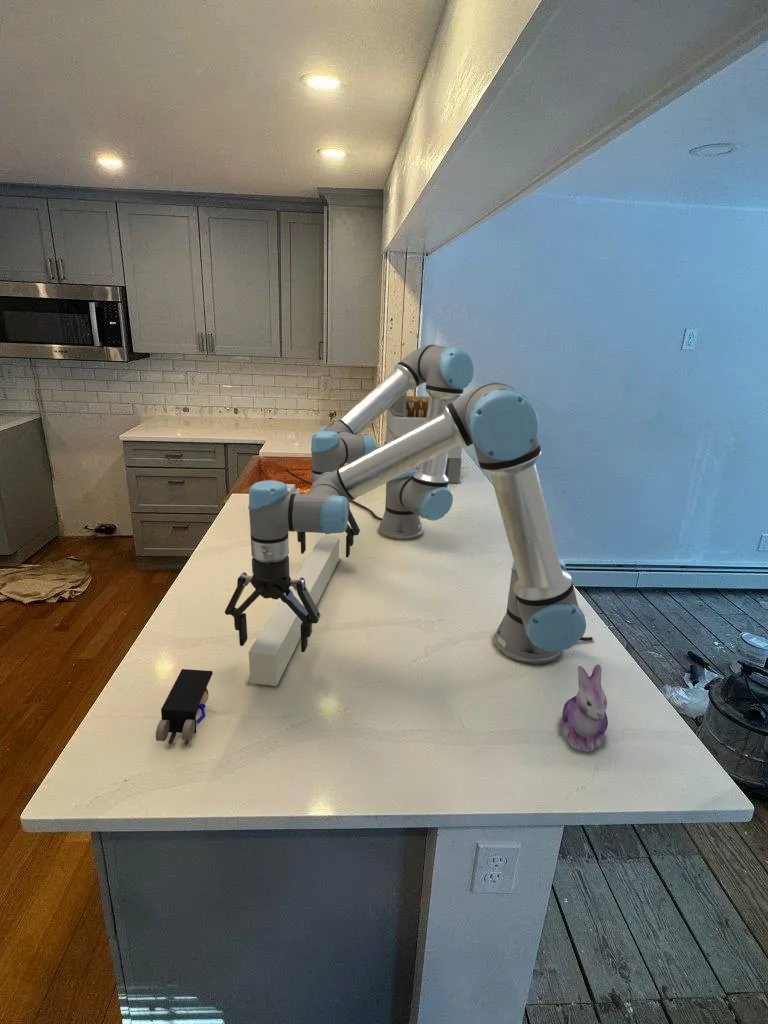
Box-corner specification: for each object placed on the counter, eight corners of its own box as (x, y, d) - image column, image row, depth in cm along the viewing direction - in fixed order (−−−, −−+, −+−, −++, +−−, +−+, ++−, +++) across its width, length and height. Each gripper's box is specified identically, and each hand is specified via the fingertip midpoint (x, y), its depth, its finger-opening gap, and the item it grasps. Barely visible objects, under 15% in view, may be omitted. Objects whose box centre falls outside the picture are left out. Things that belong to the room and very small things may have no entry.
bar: (321, 558, 178) (321, 535, 176) (339, 559, 177) (339, 537, 175) (249, 683, 118) (248, 651, 116) (276, 686, 118) (275, 654, 115)
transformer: (382, 463, 289) (386, 382, 275) (445, 464, 293) (451, 384, 279) (390, 482, 257) (394, 392, 243) (460, 483, 261) (468, 394, 247)
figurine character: (195, 758, 100) (216, 696, 113) (191, 727, 96) (213, 666, 110) (157, 758, 99) (182, 695, 113) (151, 726, 96) (178, 666, 110)
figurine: (585, 761, 101) (600, 692, 96) (546, 725, 110) (557, 659, 104) (622, 745, 105) (638, 678, 100) (581, 712, 114) (594, 648, 109)
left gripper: (278, 486, 160) (281, 555, 167) (366, 493, 157) (364, 562, 165) (286, 479, 167) (288, 545, 174) (370, 485, 164) (368, 551, 172)
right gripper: (204, 558, 114) (211, 649, 121) (326, 569, 111) (326, 661, 118) (219, 544, 121) (225, 630, 128) (334, 553, 118) (333, 641, 125)
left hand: (325, 553), depth 170 cm, fingers open, 13 cm apart
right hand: (273, 645), depth 123 cm, fingers open, 13 cm apart
